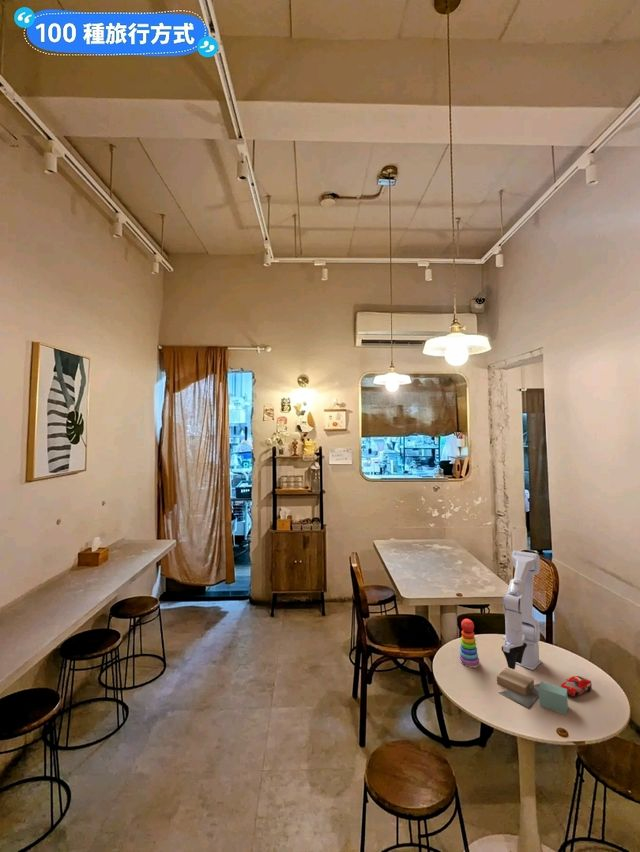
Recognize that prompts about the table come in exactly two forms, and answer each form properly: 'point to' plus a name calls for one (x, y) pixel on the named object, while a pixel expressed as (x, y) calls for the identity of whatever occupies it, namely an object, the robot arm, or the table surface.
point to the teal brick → (553, 697)
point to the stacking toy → (468, 644)
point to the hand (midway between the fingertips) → (514, 665)
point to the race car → (577, 685)
